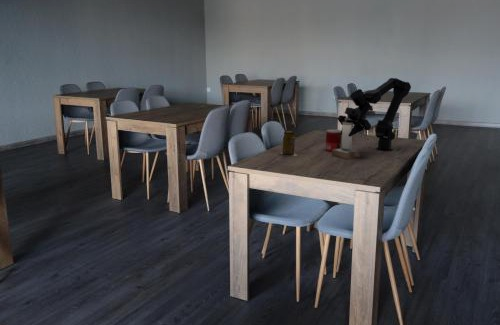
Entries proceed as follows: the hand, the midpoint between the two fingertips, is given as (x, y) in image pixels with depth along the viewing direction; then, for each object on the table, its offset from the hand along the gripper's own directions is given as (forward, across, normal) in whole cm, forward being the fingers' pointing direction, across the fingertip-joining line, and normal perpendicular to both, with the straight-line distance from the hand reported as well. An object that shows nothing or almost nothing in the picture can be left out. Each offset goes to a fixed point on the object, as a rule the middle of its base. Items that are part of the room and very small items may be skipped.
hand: (345, 135), depth 233 cm
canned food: (+4, -13, +12) cm, 18 cm away
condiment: (+23, -19, -7) cm, 30 cm away
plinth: (+7, 0, +9) cm, 11 cm away
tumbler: (+4, 0, +6) cm, 7 cm away
